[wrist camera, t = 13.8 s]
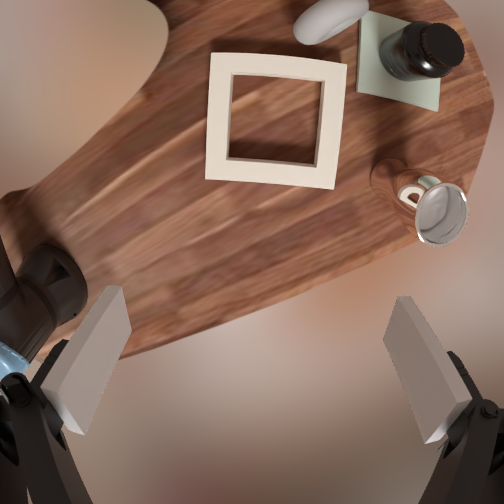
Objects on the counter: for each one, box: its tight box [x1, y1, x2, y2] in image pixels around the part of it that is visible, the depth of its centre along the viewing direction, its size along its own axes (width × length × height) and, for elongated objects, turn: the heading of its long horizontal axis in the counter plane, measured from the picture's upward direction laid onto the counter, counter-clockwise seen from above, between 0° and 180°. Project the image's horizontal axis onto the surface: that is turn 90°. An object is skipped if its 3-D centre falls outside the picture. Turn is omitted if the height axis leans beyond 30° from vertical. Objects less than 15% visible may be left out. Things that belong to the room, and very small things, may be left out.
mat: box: [356, 10, 440, 111], centre depth 30 cm, size 12×12×1 cm
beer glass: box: [370, 158, 469, 247], centre depth 31 cm, size 7×7×15 cm
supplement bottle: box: [379, 21, 465, 82], centre depth 24 cm, size 7×7×12 cm
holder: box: [205, 53, 347, 190], centre depth 35 cm, size 16×16×2 cm
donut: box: [293, 0, 369, 45], centre depth 25 cm, size 10×4×10 cm, turn 127°
